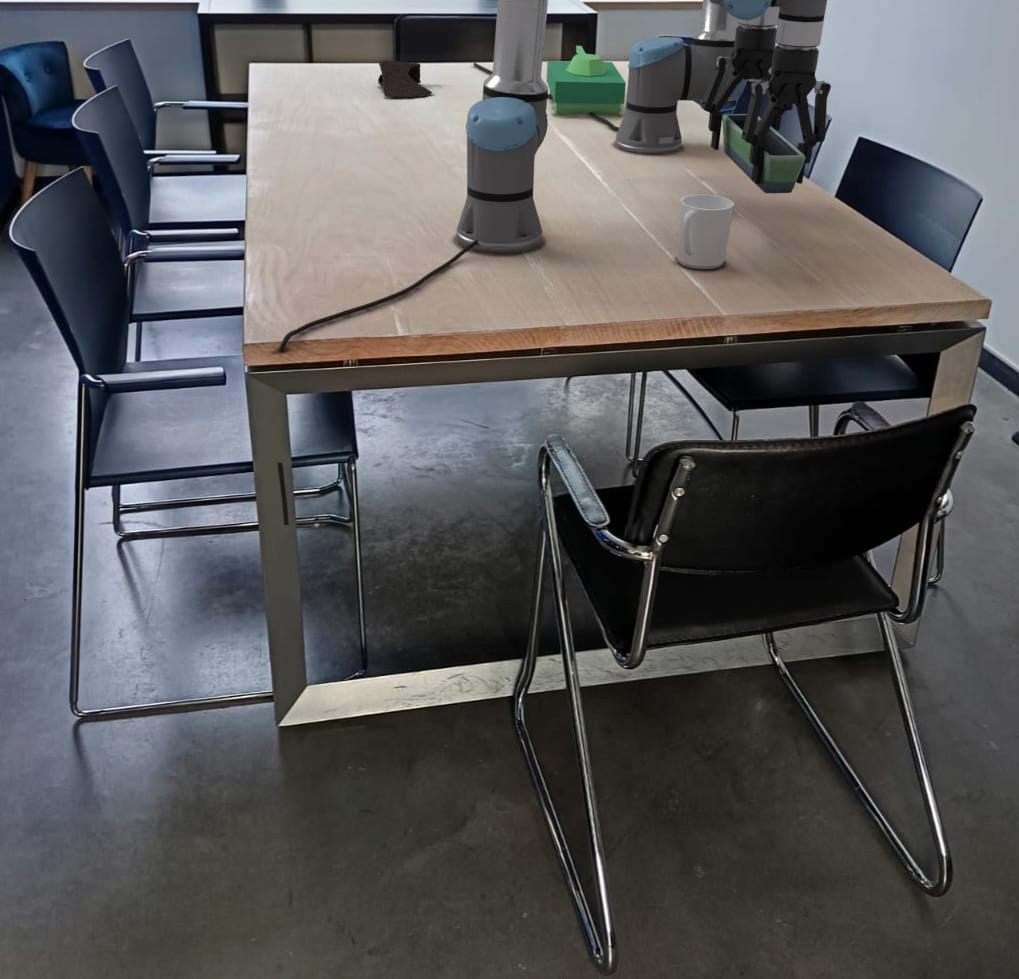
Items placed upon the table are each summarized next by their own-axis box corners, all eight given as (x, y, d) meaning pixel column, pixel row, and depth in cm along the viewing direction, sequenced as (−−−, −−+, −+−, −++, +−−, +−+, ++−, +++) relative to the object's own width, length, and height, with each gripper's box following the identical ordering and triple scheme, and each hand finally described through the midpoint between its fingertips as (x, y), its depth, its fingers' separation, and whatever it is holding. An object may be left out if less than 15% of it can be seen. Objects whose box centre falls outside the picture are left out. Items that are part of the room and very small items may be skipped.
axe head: (443, 87, 294) (392, 77, 287) (436, 115, 299) (385, 106, 292) (421, 62, 307) (371, 52, 300) (414, 89, 311) (365, 80, 304)
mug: (691, 248, 193) (697, 191, 188) (736, 260, 189) (743, 201, 183) (657, 264, 186) (663, 205, 181) (703, 277, 181) (710, 216, 176)
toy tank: (609, 42, 301) (627, 67, 272) (606, 88, 308) (623, 118, 278) (545, 41, 301) (556, 65, 271) (543, 87, 307) (553, 116, 277)
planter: (800, 196, 195) (807, 156, 191) (761, 197, 194) (768, 156, 190) (751, 150, 218) (756, 113, 214) (716, 150, 217) (721, 113, 213)
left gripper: (844, 42, 189) (821, 175, 201) (732, 42, 186) (716, 176, 198) (862, 50, 183) (837, 186, 195) (746, 50, 180) (729, 188, 192)
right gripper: (808, 22, 206) (790, 142, 218) (691, 22, 204) (679, 143, 215) (823, 29, 200) (804, 151, 212) (703, 29, 197) (690, 153, 209)
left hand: (776, 181), depth 197 cm, fingers closed on planter, 7 cm apart
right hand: (741, 147), depth 213 cm, fingers open, 10 cm apart
